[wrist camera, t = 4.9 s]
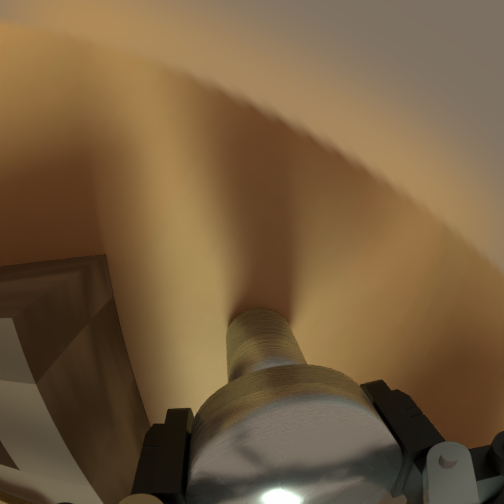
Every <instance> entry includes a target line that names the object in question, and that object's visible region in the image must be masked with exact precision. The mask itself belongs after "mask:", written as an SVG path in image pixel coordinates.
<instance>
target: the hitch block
mask: <svg viewBox="0 0 504 504" xmlns="http://www.w3.org/2000/svg"><path fill="white" fill-rule="evenodd" d="M150 428H151V427H150V424H149V421H148V418H147V415H146V413H145V410H144V407H143V404H142V401H141V398H140V395H139V391H138V388H137V385H136V382H135V379H134V375H133V372H132V368H131V365H130V361H129V358H128V354H127V351H126V347H125V343H124V339H123V335H122V331H121V327H120V323H119V319H118V315H117V310H116V306H115V301H114V297H113V292H112V287H111V282H110V277H109V271H108V266H107V260H106V254H104V255H95V256H87V257H78V258H69V259H61V260H52V261H44V262H35V263H27V264H19V265H11V266H3V267H0V491H1V492H4V493H6V494H9V495H12V496H14V497H17V498H20V499H23V500H26V501H29V502H32V503H35V504H58V503H63V502H68V503H73V504H119V502H120V501H121V500H123V499H124V498H126V497H128V496H130V494H131V491H132V487H133V482H134V478H135V474H136V470H137V465H138V461H139V458H140V453H141V449H142V448H143V446H142V445H143V441H144V437H145V434H146V433H147V431H148V430H149V429H150Z"/></svg>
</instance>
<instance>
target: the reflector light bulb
mask: <svg viewBox="0 0 504 504" xmlns="http://www.w3.org/2000/svg"><path fill="white" fill-rule="evenodd" d="M226 349H227V374H228V384H226V385H225V386H223V387H222V388H220V389H219V390H217V391H216V392H215V393H214V394H212V395H211V396H210V397H209V398H208V399H207V400H206V401H205V402H204V404H203V405H202V406H201V407H200V409H199V410H198V412H197V414H196V416H195V418H194V420H193V423H192V428H191V435H190V446H189V458H188V470H187V483H186V502H187V504H377V503H378V502H379V501H380V500H381V499H382V498H383V497H384V496H385V495H386V494H387V493H388V492H389V491H390V489H391V488H392V487H393V485H394V484H395V481H396V478H397V476H398V473H399V470H400V468H401V465H402V462H403V456H402V451H401V449H400V447H399V445H398V443H397V442H396V440H395V439H394V437H393V435H392V434H391V432H390V431H389V429H388V428H387V426H386V425H385V423H384V422H383V420H382V419H381V417H380V415H379V414H378V412H377V411H376V409H375V408H374V406H373V405H372V403H371V402H370V400H369V399H368V397H367V396H366V394H365V392H364V391H363V390H362V388H361V387H360V386H359V385H358V384H357V383H356V382H355V381H354V380H353V379H351V378H350V377H348V376H347V375H345V374H343V373H341V372H339V371H336V370H333V369H331V368H326V367H322V366H316V365H308V364H307V362H306V360H305V358H304V356H303V354H302V352H301V349H300V347H299V345H298V343H297V341H296V339H295V336H294V334H293V332H292V330H291V328H290V326H289V324H288V322H287V320H286V319H285V318H284V317H283V316H282V315H281V314H279V313H278V312H276V311H274V310H271V309H266V308H255V309H250V310H247V311H245V312H243V313H241V314H240V315H238V316H237V317H236V318H235V319H234V320H233V321H232V322H231V324H230V326H229V328H228V330H227V334H226Z"/></svg>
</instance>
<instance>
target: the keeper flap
mask: <svg viewBox="0 0 504 504" xmlns="http://www.w3.org/2000/svg"><path fill="white" fill-rule="evenodd" d="M0 504H35V503H32V502H29V501H26V500H23V499H20V498H17V497H14V496H12V495H9V494H6V493H4V492H1V491H0Z"/></svg>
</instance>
